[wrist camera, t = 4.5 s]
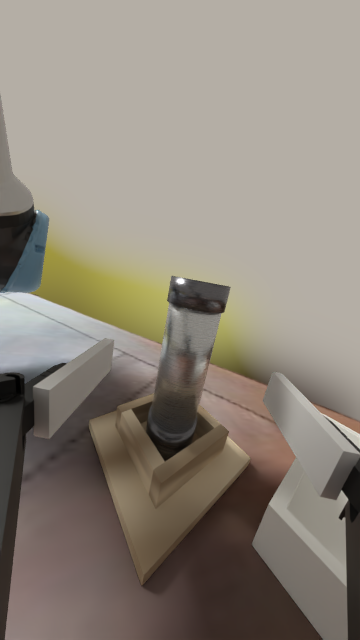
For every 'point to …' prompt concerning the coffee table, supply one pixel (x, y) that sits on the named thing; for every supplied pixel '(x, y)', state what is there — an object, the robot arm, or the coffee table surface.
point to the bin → (309, 548)
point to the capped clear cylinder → (184, 362)
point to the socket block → (162, 479)
